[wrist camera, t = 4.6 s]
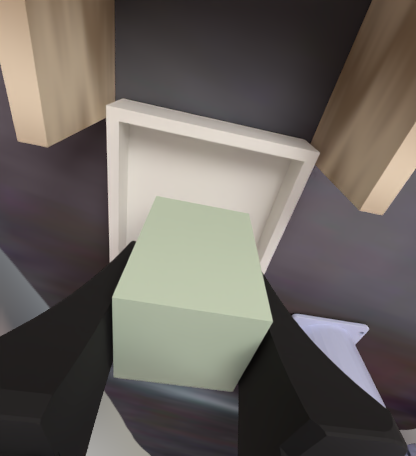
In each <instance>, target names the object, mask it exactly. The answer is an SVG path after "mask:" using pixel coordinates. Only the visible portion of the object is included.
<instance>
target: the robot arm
mask: <svg viewBox="0 0 416 456" xmlns="http://www.w3.org/2000/svg"><path fill="white" fill-rule="evenodd" d="M135 244H136V241H131V242H130V243H129V244H128V245H127V246H126V247H125V248H124V249H123V250H122V251H121V253H120V254H119V255H117V256H116V257H115V258H114V259H113V260H112V261H111V262H110V263H109V264H108V265H107V266H106V267H105V268H104V269H103V270H101V271H100V272H99V273H98V274H97V275H95V276H94V277H93V278H92V279H91V280H89V281H88V282H87V283H86V284H84V285H83V286H82V287H80V288H79V289H78V290H76V291H75V292H74V293H72V294H71V295H69V296H68V297H67V298H65V299H64V300H62V301H61V302H59V303H58V304H56V305H55V306H53V307H51V308H50V309H48V310H47V311H45V312H43V313H42V314H40V315H39V316H37V317H35V318H34V319H32V320H30V321H28V322H26V323H24V324H22V325H21V326H19V327H17V328H15V329H13V330H12V331H10V332H8V333H6V334H4V335H2V336H0V456H86V452H87V449H88V445H89V441H90V437H91V434H92V430H93V427H94V423H95V419H96V416H97V413H98V409H99V405H100V402H101V398H102V395H103V392H104V388H105V385H106V382H107V378H108V375H109V372H110V368H111V365H112V362H113V318H112V296H113V294H114V292H115V290H116V287H117V285H118V283H119V280H120V278H121V276H122V273H123V271H124V269H125V267H126V264H127V262H128V260H129V257H130V255H131V253H132V251H133V248H134V246H135ZM262 275H263V279H264V284H265V288H266V293H267V297H268V302H269V306H270V311H271V315H272V320H273V323H272V324H271V326H270V328H269V329H268V331H267V333H266V335H265V336H264V338H263V340H262V342H261V343H260V345H259V347H258V348H257V350H256V352H255V354H254V355H253V357H252V359H251V361H250V362H249V364H248V366H247V368H246V369H245V371H244V373H243V374H242V376H241V378H240V380H239V381H238V385H239V421H238V456H416V444H409V445H407V444H406V442H405V440H404V438H403V436H402V434H401V433H400V431H399V428H398V426H397V424H396V422H395V420H394V418H393V417H392V415H391V413H390V411H389V410H387V409H386V407H385V405H384V403H383V401H382V399H381V397H380V395H379V393H378V391H377V389H376V387H375V385H374V383H373V381H372V378H371V376H370V374H369V372H368V370H367V368H366V366H365V364H364V362H363V360H362V358H361V356H360V354H359V352H358V350H357V348H356V346H355V344H356V343H357V342H358V341H359V340H360V339H361V338H362V337H363V336H364V335H365V334H366V333H367V332H368V330H369V328H368V326H367V325H365V324H360V323H353V322H347V321H340V320H334V319H328V318H321V317H315V316H309V315H302V314H293V315H292V316H291V314H290V313H289V312H288V310H287V309H286V308H285V306H284V305H283V304H282V302H281V301H280V299H279V298H278V296H277V295H276V293H275V292H274V290H273V289H272V287H271V285H270V284H269V282H268V281H267V279H266V277H265V276H264V274H263V272H262Z"/></svg>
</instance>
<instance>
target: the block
mask: <svg viewBox="0 0 416 456" xmlns="http://www.w3.org/2000/svg"><path fill="white" fill-rule="evenodd" d="M112 318H113V367H114V377H115V378H123V379H131V380H139V381H147V382H156V383H164V384H172V385H180V386H189V387H197V388H205V389H213V390H222V391H230V392H233V390H234V388H235V387H236V385H237V383H238V381H239V380H240V378H241V376H242V374H243V373H244V371H245V369H246V368H247V366H248V364H249V362H250V361H251V359H252V357H253V355H254V354H255V352H256V350H257V348H258V347H259V345H260V343H261V342H262V340H263V338H264V336H265V335H266V333H267V331H268V329H269V328H270V326H271V324H272V323H273V320H272V315H271V311H270V306H269V302H268V297H267V293H266V288H265V284H264V279H263V275H262V270H261V266H260V261H259V257H258V252H257V248H256V243H255V239H254V234H253V230H252V225H251V221H250V216H249V214H248V213H243V212H238V211H232V210H227V209H222V208H217V207H212V206H206V205H201V204H196V203H191V202H186V201H180V200H175V199H170V198H165V197H160V196H156V198H155V200H154V202H153V205H152V207H151V209H150V212H149V214H148V216H147V218H146V221H145V223H144V225H143V228H142V230H141V232H140V235H139V237H138V239H137V241H136V244H135V246H134V248H133V251H132V253H131V255H130V257H129V260H128V262H127V264H126V267H125V269H124V271H123V273H122V276H121V278H120V280H119V283H118V285H117V287H116V290H115V292H114V294H113V296H112Z"/></svg>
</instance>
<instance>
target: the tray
mask: <svg viewBox="0 0 416 456" xmlns="http://www.w3.org/2000/svg"><path fill="white" fill-rule="evenodd" d="M106 128H107V169H108V209H109V249H110V262H111V261H112V260H113V259H114V258H115V257H116V256H117V255H119V254H120V253H121V251H122V250H123V249H124V248H125V247H126V246H127V245H128V244H129V243H130V242H131V241H137V239H138V237H139V235H140V232H141V230H142V228H143V225H144V223H145V221H146V218H147V216H148V214H149V212H150V209H151V207H152V205H153V202H154V200H155V198H156V196H160V197H165V198H170V199H175V200H180V201H186V202H191V203H196V204H201V205H206V206H212V207H217V208H222V209H227V210H232V211H238V212H243V213H248V214H249V216H250V221H251V225H252V230H253V234H254V239H255V243H256V248H257V252H258V257H259V261H260V266H261V270H262V272H263V274H264V273H265V271H266V269H267V267H268V265H269V263H270V260H271V258H272V256H273V254H274V252H275V250H276V247H277V245H278V243H279V241H280V239H281V237H282V234H283V232H284V230H285V228H286V226H287V224H288V222H289V219H290V217H291V215H292V213H293V211H294V209H295V206H296V204H297V202H298V200H299V198H300V196H301V193H302V191H303V189H304V187H305V185H306V183H307V180H308V178H309V176H310V174H311V172H312V170H313V167H314V165H315V163H316V161H317V159H318V157H319V154H320V152H319V151H318V150H316V149H315V148H314V147H313V146H312V145H311V144H309V143H308V142H307V141H306V140H304V139H300V138H296V137H291V136H287V135H282V134H278V133H274V132H269V131H265V130H260V129H256V128H251V127H247V126H243V125H238V124H234V123H229V122H225V121H221V120H216V119H212V118H207V117H203V116H198V115H194V114H190V113H185V112H181V111H176V110H172V109H168V108H163V107H159V106H154V105H150V104H145V103H141V102H137V101H132V100H128V99H120V100H118V101H115V102H113V103H110V104H108V105H106Z"/></svg>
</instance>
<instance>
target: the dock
mask: <svg viewBox="0 0 416 456" xmlns="http://www.w3.org/2000/svg"><path fill="white" fill-rule="evenodd" d="M0 64H1V68H2V73H3V77H4V82H5V86H6V91H7V95H8V100H9V104H10V109H11V113H12V118H13V122H14V126H15V131H16V135H17V140H18V141H19V142H24V143H29V144H34V145H39V146H44V147H50V146H52V145H53V144H55V143H57V142H59V141H61V140H63V139H65V138H67V137H69V136H71V135H73V134H75V133H77V132H79V131H81V130H83V129H85V128H87V127H89V126H91V125H93V124H95V123H97V122H99V121H100V120H102V119H104V118H106V105H108V104H110V103H113V102H115V0H0ZM310 144H311V145H312V146H313V147H314V148H315V149H316V150H318V151H319V152H320V154H319V157H318V159H317V161H316V163H315V165H316V166H317V167H318V168H319V169H320V170H321V171H322V172H323V173H324V174H325V176H326V177H327V178H328V179H329V180H330V181H331V182H332V183H333V184H334V185H335V186H336V187H337V188H338V189H339V190H340V191H341V192H342V193H343V194H344V195H345V196H346V197H347V198H348V199H349V200H350V201H351V202H352V203H353V204H354V205H355V206H356V207H357V209H358V210H359V211H364V212H369V213H374V214H379V215H383V214H384V213H385V211H386V210H387V208H388V207H389V205H390V204H391V203H392V201H393V200H394V198H395V197H396V196H397V194H398V193H399V191H400V190H401V188H402V187H403V186H404V184H405V183H406V181H407V180H408V179H409V177H410V176H411V174H412V173H413V171H414V170H415V169H416V0H372V2H371V4H370V6H369V9H368V11H367V13H366V16H365V18H364V20H363V23H362V25H361V27H360V30H359V32H358V34H357V37H356V39H355V41H354V43H353V46H352V48H351V50H350V53H349V55H348V57H347V60H346V62H345V64H344V67H343V69H342V71H341V74H340V76H339V78H338V81H337V83H336V85H335V88H334V90H333V92H332V95H331V97H330V99H329V102H328V104H327V106H326V108H325V111H324V113H323V115H322V118H321V120H320V122H319V125H318V127H317V129H316V132H315V134H314V136H313V139H312V141H311V143H310Z"/></svg>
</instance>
